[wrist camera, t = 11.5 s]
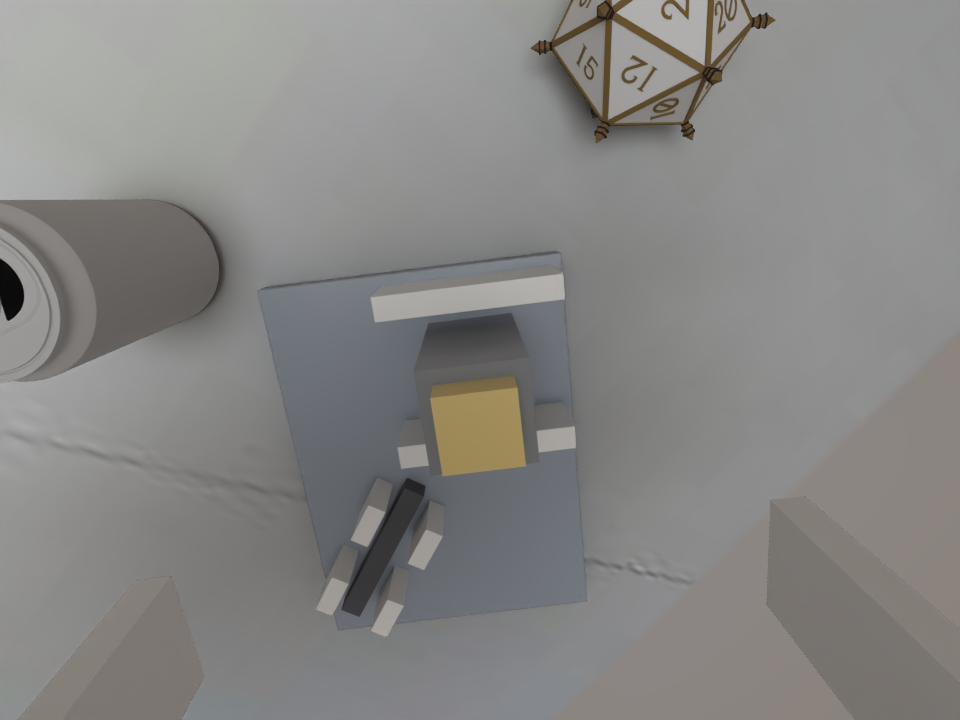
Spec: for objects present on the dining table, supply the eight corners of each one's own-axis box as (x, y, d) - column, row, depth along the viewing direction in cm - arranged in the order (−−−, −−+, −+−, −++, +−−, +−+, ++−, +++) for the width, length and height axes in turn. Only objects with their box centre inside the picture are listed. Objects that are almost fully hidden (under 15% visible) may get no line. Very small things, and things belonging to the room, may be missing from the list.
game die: (608, 34, 30) (739, -188, 21) (696, 158, 29) (874, -16, 20) (477, 72, 26) (567, -174, 17) (573, 215, 25) (721, 35, 16)
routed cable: (363, 603, 34) (359, 617, 33) (345, 596, 34) (341, 610, 33) (425, 486, 32) (423, 496, 31) (407, 477, 32) (404, 488, 31)
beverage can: (250, 266, 29) (110, 310, 18) (172, 343, 30) (-7, 430, 19) (156, 173, 28) (-62, 153, 16) (78, 256, 29) (-178, 293, 17)
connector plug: (428, 323, 29) (409, 383, 20) (511, 312, 29) (533, 368, 20) (440, 400, 30) (428, 493, 21) (519, 391, 30) (544, 479, 21)
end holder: (408, 439, 31) (401, 468, 28) (381, 286, 29) (370, 297, 25) (564, 421, 31) (576, 447, 28) (551, 265, 28) (563, 273, 25)
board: (342, 616, 36) (326, 669, 32) (265, 287, 30) (233, 301, 26) (582, 588, 36) (597, 637, 32) (556, 251, 29) (571, 259, 25)
